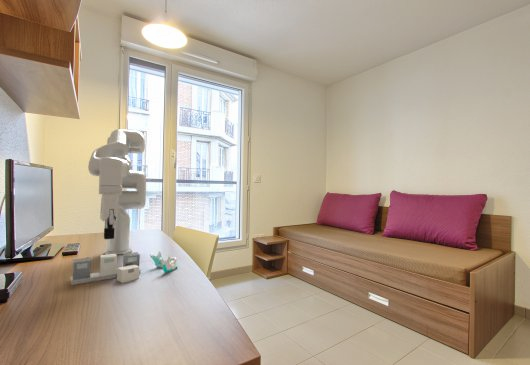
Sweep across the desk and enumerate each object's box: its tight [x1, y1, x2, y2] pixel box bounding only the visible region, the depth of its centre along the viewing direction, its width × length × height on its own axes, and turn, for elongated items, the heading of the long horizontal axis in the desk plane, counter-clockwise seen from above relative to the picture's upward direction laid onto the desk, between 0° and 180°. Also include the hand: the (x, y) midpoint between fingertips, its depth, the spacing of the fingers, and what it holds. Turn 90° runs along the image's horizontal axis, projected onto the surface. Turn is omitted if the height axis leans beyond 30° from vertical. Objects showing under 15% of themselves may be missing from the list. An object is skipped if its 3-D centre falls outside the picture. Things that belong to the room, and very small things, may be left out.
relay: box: [116, 264, 140, 284], centre depth 97 cm, size 4×6×4 cm
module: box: [99, 254, 118, 276], centre depth 98 cm, size 5×5×6 cm
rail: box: [70, 251, 142, 286], centre depth 98 cm, size 5×22×8 cm, turn 127°
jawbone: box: [149, 250, 178, 273], centre depth 110 cm, size 12×8×9 cm, turn 45°
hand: (108, 238), depth 99 cm, fingers closed
